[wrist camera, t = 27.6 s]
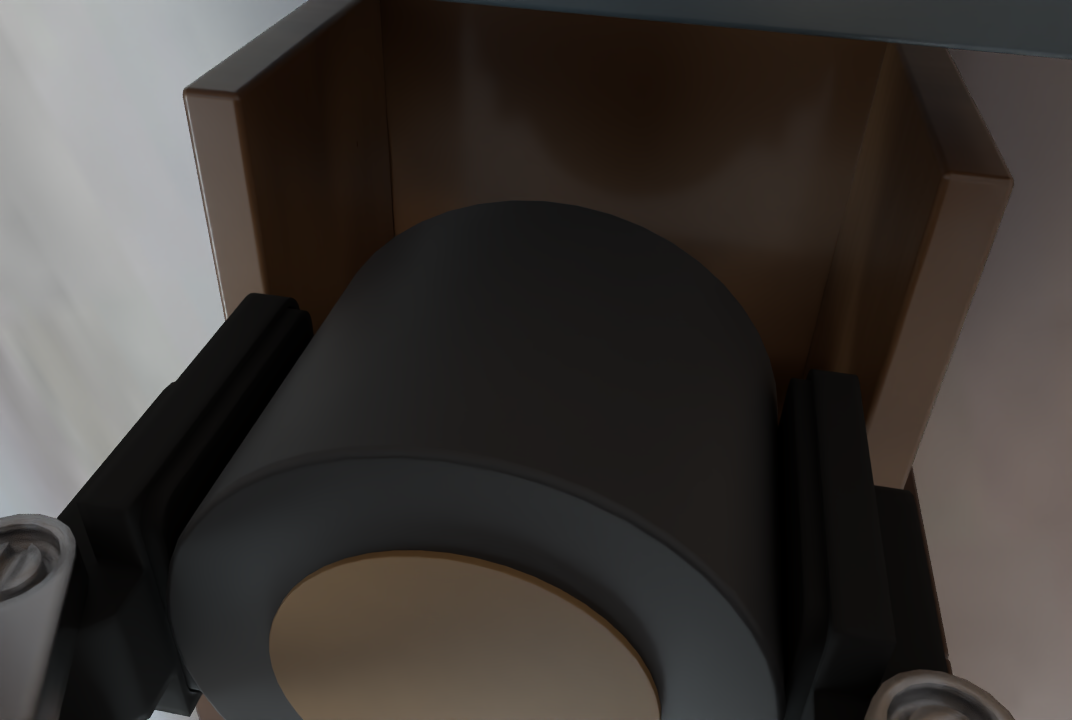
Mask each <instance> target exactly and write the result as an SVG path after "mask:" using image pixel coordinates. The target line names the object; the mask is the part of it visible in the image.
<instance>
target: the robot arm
mask: <svg viewBox="0 0 1072 720" xmlns="http://www.w3.org/2000/svg"><path fill="white" fill-rule="evenodd" d="M313 337H314V334H313V326H312V319H311V316H310V314H309V312H308V311H305V310H300V308H299V305H298V303H297V301H296V300H295V299H294V298H291V297H283V296H276V295H269V294H261V293H250V294H248V295H247V296H246V297H245V298H244V299H243V301H242V302H241V303H240V304H239V305H238V307H237V308H236V309H235V310H234V311H233V313H232V314H231V315H230V316H229V317H228V319H227V320H226V321H225V322H224V324H223V325H222V326H221V327H220V328H219V330H218V331H217V332H216V333H215V334H214V336H213V337H212V338H211V339H210V341H209V342H208V343H207V344H206V345H205V347H204V348H203V349H202V350H201V351H200V353H199V354H198V355H197V356H196V357H195V359H194V360H193V361H192V362H191V364H190V365H189V366H188V367H187V368H186V370H185V371H184V372H183V373H182V374H181V376H180V377H179V378H178V379H177V380H176V382H172V383H171V384H170V385H169V386H168V387H166V388H165V389H164V390H163V391H162V393H161V394H160V395H159V396H158V397H157V399H156V400H155V401H154V402H153V403H152V405H151V406H150V407H149V408H148V409H147V411H146V412H145V413H144V414H143V415H142V417H141V418H140V419H139V420H138V421H137V423H136V424H135V425H134V426H133V427H132V429H131V430H130V431H129V432H128V433H127V435H126V436H125V437H124V438H123V439H122V441H121V442H120V443H119V444H118V445H117V447H116V448H115V449H114V450H113V451H112V453H111V454H110V455H109V456H108V457H107V459H106V460H105V461H104V462H103V463H102V465H101V466H100V467H99V468H98V469H97V471H96V472H95V473H94V474H93V475H92V477H91V478H90V479H89V480H88V481H87V483H86V484H85V485H84V486H83V487H82V489H81V490H80V491H79V492H78V493H77V495H76V496H75V497H74V498H73V499H72V501H71V502H70V503H69V504H68V505H67V507H66V508H65V509H64V510H63V511H62V513H61V514H60V515H59V516H58V517H57V519H56V518H52V517H49V516H45V515H41V514H17V515H12V516H7V517H2V518H0V720H147V719H149V718H150V717H151V715H152V713H153V712H154V710H159V711H164V712H169V713H174V714H179V715H184V716H189V717H190V716H191V714H192V712H193V710H194V708H195V706H196V705H197V703H198V701H199V699H200V697H201V695H202V694H203V693H202V692H201V691H200V689H199V687H198V686H197V684H196V682H195V681H194V679H193V678H192V676H191V674H190V673H189V671H188V670H187V668H186V666H185V664H184V662H183V660H182V657H181V655H180V653H179V651H178V648H177V646H176V644H175V641H174V638H173V634H172V630H171V627H170V623H169V619H168V611H167V598H166V588H167V580H168V572H169V564H170V560H171V557H172V554H173V552H174V549H175V546H176V543H177V540H178V538H179V536H180V535H181V533H182V532H183V530H184V528H185V527H186V525H187V524H188V522H189V521H190V519H191V517H192V516H193V514H194V513H195V511H196V510H197V508H198V507H199V505H200V504H201V503H202V501H203V500H204V498H205V497H206V495H207V494H208V492H209V491H210V489H211V488H212V486H213V485H214V483H215V482H216V480H217V479H218V477H219V476H220V474H221V473H222V471H223V470H224V468H225V467H226V465H227V464H228V463H229V461H230V460H231V458H232V457H233V455H234V454H235V452H236V451H237V449H238V448H239V446H240V445H241V443H242V442H243V440H244V439H245V437H246V436H247V434H248V433H249V431H250V430H251V428H252V427H253V425H254V424H255V423H256V421H257V420H258V418H259V417H260V415H261V414H262V412H263V411H264V409H265V408H266V406H267V405H268V403H269V402H270V400H271V399H272V397H273V396H274V394H275V393H276V391H277V390H278V388H279V387H280V385H281V384H282V383H283V381H284V380H285V378H286V377H287V375H288V374H289V372H290V371H291V369H292V368H293V366H294V365H295V363H296V362H297V360H298V359H299V357H300V356H301V354H302V353H303V351H304V350H305V348H306V347H307V345H308V344H309V343H310V341H311V340H312V338H313ZM778 444H779V481H780V519H781V556H782V593H783V630H784V667H785V697H786V712H785V719H784V720H1015V719H1014V718H1013V716H1012V715H1011V713H1010V712H1009V711H1008V710H1007V709H1006V708H1005V707H1004V706H1003V705H1001V704H1000V703H999V702H998V701H997V700H996V699H995V698H994V697H993V696H992V695H991V694H989V693H988V692H986V691H984V690H983V689H981V688H979V687H978V686H976V685H974V684H973V683H971V682H969V681H968V680H965V679H963V678H960V677H957V676H954V675H951V674H948V669H947V663H946V658H945V653H944V648H943V642H942V637H941V632H940V627H939V621H938V616H937V611H936V606H935V600H934V595H933V590H932V585H931V579H930V574H929V569H928V564H927V558H926V553H925V548H924V543H923V537H922V532H921V527H920V522H919V517H918V511H917V506H916V502H915V499H914V496H913V494H912V493H911V492H910V491H909V490H903V489H897V488H890V487H884V486H877V485H874V481H873V474H872V467H871V460H870V453H869V446H868V439H867V432H866V425H865V418H864V411H863V404H862V397H861V390H860V383H859V379H858V376H857V375H853V374H846V373H839V372H832V371H824V370H817V369H810V370H809V372H808V375H807V378H806V380H804V379H797V378H791V380H790V382H789V386H788V389H787V393H786V397H785V402H784V406H783V410H782V414H781V418H780V422H779V426H778Z"/></svg>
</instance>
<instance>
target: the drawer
mask: <svg viewBox="0 0 1072 720" xmlns="http://www.w3.org/2000/svg"><path fill="white" fill-rule="evenodd" d="M947 48H952V49H963V50H974V51H984V52H995V53H1006V54H1017V55H1028V56H1038V57H1049V58H1060V59H1071V60H1072V0H308V1H307V2H305V3H304V4H303V5H301V6H300V7H298V8H297V9H295V10H294V11H293V12H291V13H290V14H288V15H287V16H286V17H284V18H283V19H281V20H280V21H279V22H277V23H276V24H274V25H273V26H271V27H270V28H269V29H267V30H266V31H264V32H263V33H262V34H260V35H259V36H257V37H256V38H255V39H253V40H252V41H250V42H249V43H247V44H246V45H245V46H243V47H242V48H240V49H239V50H238V51H236V52H235V53H233V54H232V55H231V56H229V57H228V58H226V59H225V60H223V61H222V62H221V63H219V64H218V65H216V66H215V67H214V68H212V69H211V70H209V71H208V72H207V73H205V74H204V75H202V76H201V77H199V78H198V79H197V80H195V81H194V82H192V83H191V84H190V85H188V86H187V87H185V88H184V90H183V100H184V105H185V110H186V116H187V121H188V126H189V132H190V137H191V142H192V147H193V153H194V158H195V163H196V169H197V174H198V179H199V185H200V190H201V195H202V200H203V206H204V211H205V216H206V222H207V227H208V232H209V237H210V243H211V248H212V253H213V259H214V264H215V269H216V275H217V280H218V285H219V290H220V296H221V301H222V306H223V312H224V317H225V321H226V320H227V319H228V317H229V316H230V315H231V314H232V313H233V311H234V310H235V309H236V308H237V307H238V305H239V304H240V303H241V302H242V301H243V299H244V298H245V297H246V296H247V295H248V294H250V293H261V294H269V295H276V296H283V297H291V298H294V299H295V300H296V301H297V303H298V305H299V308H300V310H305V311H308V312H309V314H310V316H311V319H312V326H313V334H314V335H315V334H316V332H317V331H318V329H319V328H320V326H321V325H322V323H323V322H324V320H325V319H326V317H327V316H328V314H329V313H330V311H331V310H332V308H333V307H334V305H335V304H336V303H337V301H338V300H339V298H340V297H341V295H342V294H343V292H344V291H345V289H346V288H347V286H348V285H349V283H350V282H351V280H352V279H353V277H354V276H355V274H356V273H357V272H358V270H359V269H360V268H361V267H362V266H363V265H364V264H365V263H366V262H367V261H368V259H369V258H370V257H371V256H372V255H373V254H374V253H375V252H376V251H377V250H379V249H380V248H381V247H383V246H384V245H385V244H386V243H388V242H389V241H390V240H391V239H393V238H394V237H395V236H397V235H399V234H400V233H402V232H404V231H406V230H407V229H409V228H411V227H413V226H414V225H416V224H418V223H420V222H422V221H424V220H427V219H430V218H432V217H435V216H437V215H440V214H442V213H445V212H447V211H451V210H456V209H460V208H464V207H468V206H472V205H476V204H482V203H492V202H501V201H510V200H520V201H549V202H556V203H563V204H570V205H578V206H582V207H585V208H589V209H593V210H597V211H601V212H605V213H608V214H612V215H614V216H617V217H619V218H622V219H625V220H627V221H630V222H632V223H635V224H637V225H640V226H642V227H644V228H646V229H648V230H650V231H652V232H654V233H655V234H657V235H659V236H661V237H663V238H665V239H667V240H668V241H670V242H672V243H674V244H675V245H676V246H678V247H679V248H681V249H682V250H683V251H685V252H686V253H688V254H689V255H691V256H692V257H693V258H695V259H696V260H698V261H699V262H700V263H701V264H702V265H703V266H704V267H706V268H707V269H708V270H709V271H710V272H711V273H712V274H713V275H714V276H715V277H716V278H717V279H719V280H720V281H721V282H722V283H723V284H724V285H725V286H726V288H727V289H728V290H729V291H730V292H731V294H732V295H733V296H734V297H735V298H736V300H737V301H738V302H739V303H740V304H741V306H742V307H743V308H744V310H745V311H746V313H747V315H748V316H749V318H750V320H751V321H752V323H753V324H754V326H755V328H756V329H757V331H758V333H759V335H760V337H761V340H762V342H763V344H764V347H765V349H766V351H767V354H768V356H769V359H770V363H771V367H772V371H773V375H774V379H775V383H776V394H777V407H778V426H779V422H780V418H781V414H782V410H783V406H784V402H785V397H786V393H787V389H788V386H789V382H790V380H791V378H797V379H804V380H806V378H807V375H808V372H809V370H810V369H817V370H824V371H832V372H839V373H846V374H853V375H857V376H858V379H859V383H860V390H861V397H862V404H863V411H864V418H865V425H866V432H867V439H868V446H869V453H870V460H871V467H872V474H873V481H874V485H877V486H884V487H890V488H897V489H904V486H905V483H906V481H907V478H908V475H909V472H910V470H911V467H912V464H913V461H914V459H915V456H916V453H917V450H918V448H919V445H920V442H921V439H922V437H923V434H924V431H925V428H926V426H927V423H928V420H929V417H930V415H931V412H932V409H933V406H934V404H935V401H936V398H937V395H938V393H939V390H940V387H941V384H942V382H943V379H944V376H945V373H946V371H947V368H948V365H949V362H950V360H951V357H952V354H953V351H954V349H955V346H956V343H957V340H958V338H959V335H960V332H961V329H962V327H963V324H964V321H965V318H966V316H967V313H968V310H969V307H970V305H971V302H972V299H973V296H974V294H975V291H976V288H977V285H978V283H979V280H980V277H981V274H982V272H983V269H984V266H985V263H986V261H987V258H988V255H989V252H990V250H991V247H992V244H993V241H994V239H995V236H996V233H997V230H998V228H999V225H1000V222H1001V219H1002V217H1003V214H1004V211H1005V208H1006V206H1007V203H1008V200H1009V197H1010V195H1011V192H1012V189H1013V186H1014V180H1013V177H1012V175H1011V173H1010V171H1009V169H1008V167H1007V165H1006V163H1005V161H1004V160H1003V158H1002V156H1001V154H1000V152H999V150H998V148H997V146H996V144H995V142H994V140H993V138H992V136H991V134H990V132H989V130H988V128H987V126H986V124H985V122H984V120H983V118H982V116H981V114H980V112H979V110H978V108H977V106H976V104H975V102H974V100H973V98H972V97H971V95H970V93H969V91H968V89H967V87H966V85H965V83H964V81H963V79H962V77H961V75H960V73H959V71H958V69H957V67H956V65H955V63H954V61H953V59H952V57H951V55H950V53H949V51H948V49H947Z"/></svg>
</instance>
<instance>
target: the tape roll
mask: <svg viewBox="0 0 1072 720" xmlns="http://www.w3.org/2000/svg"><path fill="white" fill-rule="evenodd" d="M166 598H167V611H168V619H169V623H170V627H171V630H172V634H173V638H174V641H175V644H176V646H177V648H178V651H179V653H180V655H181V657H182V660H183V662H184V664H185V666H186V668H187V670H188V671H189V673H190V674H191V676H192V678H193V679H194V681H195V682H196V684H197V686H198V687H199V689H200V691H201V692H202V693H203V694H204V696H205V697H206V698H207V699H208V701H209V702H210V703H211V704H212V706H213V707H214V708H215V709H216V711H217V712H218V713H219V714H220V715H221V716H222V717H223V718H224V719H225V720H784V719H785V712H786V697H785V667H784V630H783V593H782V556H781V519H780V481H779V444H778V407H777V394H776V383H775V379H774V375H773V371H772V367H771V363H770V359H769V356H768V354H767V351H766V349H765V347H764V344H763V342H762V340H761V337H760V335H759V333H758V331H757V329H756V328H755V326H754V324H753V323H752V321H751V320H750V318H749V316H748V315H747V313H746V311H745V310H744V308H743V307H742V306H741V304H740V303H739V302H738V301H737V300H736V298H735V297H734V296H733V295H732V294H731V292H730V291H729V290H728V289H727V288H726V286H725V285H724V284H723V283H722V282H721V281H720V280H719V279H717V278H716V277H715V276H714V275H713V274H712V273H711V272H710V271H709V270H708V269H707V268H706V267H704V266H703V265H702V264H701V263H700V262H699V261H698V260H696V259H695V258H693V257H692V256H691V255H689V254H688V253H686V252H685V251H683V250H682V249H681V248H679V247H678V246H676V245H675V244H674V243H672V242H670V241H668V240H667V239H665V238H663V237H661V236H659V235H657V234H655V233H654V232H652V231H650V230H648V229H646V228H644V227H642V226H640V225H637V224H635V223H632V222H630V221H627V220H625V219H622V218H619V217H617V216H614V215H612V214H608V213H605V212H601V211H597V210H593V209H589V208H585V207H582V206H578V205H570V204H563V203H556V202H549V201H520V200H510V201H501V202H492V203H482V204H476V205H472V206H468V207H464V208H460V209H456V210H451V211H447V212H445V213H442V214H440V215H437V216H435V217H432V218H430V219H427V220H424V221H422V222H420V223H418V224H416V225H414V226H413V227H411V228H409V229H407V230H406V231H404V232H402V233H400V234H399V235H397V236H395V237H394V238H393V239H391V240H390V241H389V242H388V243H386V244H385V245H384V246H383V247H381V248H380V249H379V250H377V251H376V252H375V253H374V254H373V255H372V256H371V257H370V258H369V259H368V261H367V262H366V263H365V264H364V265H363V266H362V267H361V268H360V269H359V270H358V272H357V273H356V274H355V276H354V277H353V279H352V280H351V282H350V283H349V285H348V286H347V288H346V289H345V291H344V292H343V294H342V295H341V297H340V298H339V300H338V301H337V303H336V304H335V305H334V307H333V308H332V310H331V311H330V313H329V314H328V316H327V317H326V319H325V320H324V322H323V323H322V325H321V326H320V328H319V329H318V331H317V332H316V334H315V335H314V337H313V338H312V340H311V341H310V343H309V344H308V345H307V347H306V348H305V350H304V351H303V353H302V354H301V356H300V357H299V359H298V360H297V362H296V363H295V365H294V366H293V368H292V369H291V371H290V372H289V374H288V375H287V377H286V378H285V380H284V381H283V383H282V384H281V385H280V387H279V388H278V390H277V391H276V393H275V394H274V396H273V397H272V399H271V400H270V402H269V403H268V405H267V406H266V408H265V409H264V411H263V412H262V414H261V415H260V417H259V418H258V420H257V421H256V423H255V424H254V425H253V427H252V428H251V430H250V431H249V433H248V434H247V436H246V437H245V439H244V440H243V442H242V443H241V445H240V446H239V448H238V449H237V451H236V452H235V454H234V455H233V457H232V458H231V460H230V461H229V463H228V464H227V465H226V467H225V468H224V470H223V471H222V473H221V474H220V476H219V477H218V479H217V480H216V482H215V483H214V485H213V486H212V488H211V489H210V491H209V492H208V494H207V495H206V497H205V498H204V500H203V501H202V503H201V504H200V505H199V507H198V508H197V510H196V511H195V513H194V514H193V516H192V517H191V519H190V521H189V522H188V524H187V525H186V527H185V528H184V530H183V532H182V533H181V535H180V536H179V538H178V540H177V543H176V546H175V549H174V552H173V554H172V557H171V560H170V564H169V572H168V580H167V588H166Z"/></svg>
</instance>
